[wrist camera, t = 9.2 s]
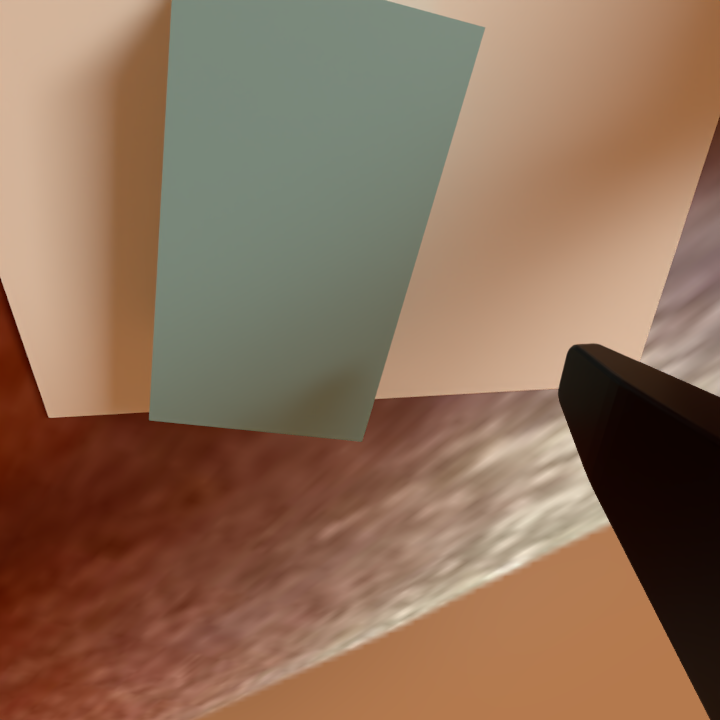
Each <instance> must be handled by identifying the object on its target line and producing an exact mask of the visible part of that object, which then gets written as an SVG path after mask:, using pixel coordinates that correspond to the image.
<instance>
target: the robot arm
mask: <svg viewBox="0 0 720 720" xmlns="http://www.w3.org/2000/svg"><path fill="white" fill-rule="evenodd" d="M558 396H559V402H560V405H561V408H562V410H563V413H564V416H565V418H566V421H567V424H568V426H569V429H570V432H571V435H572V437H573V440H574V443H575V445H576V448H577V451H578V453H579V456H580V459H581V462H582V464H583V467H584V469H585V472H586V474H587V477H588V479H589V482H590V484H591V486H592V488H593V490H594V492H595V494H596V496H597V498H598V500H599V502H600V504H601V506H602V508H603V510H604V512H605V514H606V516H607V518H608V520H609V522H610V524H611V526H612V528H613V529H614V531H615V533H616V535H617V537H618V539H619V541H620V543H621V545H622V547H623V549H624V551H625V553H626V555H627V557H628V559H629V561H630V563H631V565H632V567H633V569H634V571H635V573H636V575H637V576H638V579H639V581H640V583H641V584H642V586H643V588H644V590H645V592H646V594H647V596H648V598H649V600H650V602H651V604H652V606H653V608H654V610H655V612H656V614H657V616H658V618H659V620H660V622H661V624H662V626H663V628H664V630H665V632H666V633H667V636H668V637H669V640H670V642H671V643H672V645H673V647H674V649H675V651H676V653H677V655H678V657H679V659H680V661H681V663H682V665H683V667H684V669H685V671H686V673H687V675H688V677H689V679H690V681H691V683H692V685H693V687H694V689H695V691H696V693H697V695H698V696H699V699H700V701H701V702H702V704H703V706H704V708H705V710H706V712H707V714H708V716H709V718H710V720H720V397H718V396H716V395H714V394H711V393H709V392H707V391H705V390H702V389H700V388H698V387H696V386H693V385H691V384H689V383H686V382H684V381H682V380H680V379H677V378H675V377H673V376H671V375H668V374H666V373H664V372H661V371H659V370H657V369H655V368H652V367H650V366H648V365H646V364H643V363H641V362H639V361H637V360H634V359H632V358H630V357H627V356H625V355H623V354H621V353H618V352H616V351H614V350H612V349H609V348H607V347H605V346H602V345H600V344H596V343H590V344H575V345H573V346H571V347H570V348H569V350H568V352H567V355H566V359H565V363H564V367H563V371H562V375H561V379H560V384H559V389H558Z"/></svg>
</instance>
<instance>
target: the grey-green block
mask: <svg viewBox="0 0 720 720" xmlns="http://www.w3.org/2000/svg"><path fill="white" fill-rule="evenodd" d="M484 30H485V27H482V26H478V25H475V24H471V23H467V22H464V21H460V20H456V19H453V18H449V17H445V16H442V15H438V14H434V13H431V12H427V11H423V10H420V9H416V8H412V7H409V6H405V5H401V4H398V3H394V2H390V1H387V0H172V4H171V22H170V41H169V59H168V78H167V96H166V114H165V133H164V151H163V170H162V188H161V207H160V225H159V244H158V262H157V281H156V299H155V318H154V336H153V355H152V373H151V392H150V410H149V420H150V421H160V422H170V423H180V424H190V425H200V426H210V427H220V428H230V429H240V430H250V431H260V432H270V433H280V434H290V435H300V436H310V437H320V438H330V439H340V440H350V441H360V442H362V440H363V437H364V434H365V430H366V427H367V423H368V420H369V417H370V413H371V410H372V407H373V403H374V400H375V397H376V393H377V390H378V387H379V383H380V380H381V376H382V373H383V370H384V366H385V363H386V360H387V356H388V353H389V350H390V346H391V343H392V339H393V336H394V333H395V329H396V326H397V323H398V319H399V316H400V313H401V309H402V306H403V303H404V299H405V296H406V292H407V289H408V286H409V282H410V279H411V276H412V272H413V269H414V266H415V262H416V259H417V256H418V252H419V249H420V245H421V242H422V239H423V235H424V232H425V229H426V225H427V222H428V219H429V215H430V212H431V208H432V205H433V202H434V198H435V195H436V192H437V188H438V185H439V182H440V178H441V175H442V172H443V168H444V165H445V161H446V158H447V155H448V151H449V148H450V145H451V141H452V138H453V135H454V131H455V128H456V125H457V121H458V118H459V114H460V111H461V108H462V104H463V101H464V98H465V94H466V91H467V88H468V84H469V81H470V77H471V74H472V71H473V67H474V64H475V61H476V57H477V54H478V51H479V47H480V44H481V41H482V37H483V34H484Z"/></svg>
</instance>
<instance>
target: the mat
mask: <svg viewBox="0 0 720 720" xmlns="http://www.w3.org/2000/svg"><path fill="white" fill-rule="evenodd" d="M387 1H390V2H394V3H398V4H401V5H405V6H409V7H412V8H416V9H420V10H423V11H427V12H431V13H434V14H438V15H442V16H445V17H449V18H453V19H456V20H460V21H464V22H467V23H471V24H475V25H478V26H482V27H485V30H484V34H483V37H482V41H481V44H480V47H479V51H478V54H477V57H476V61H475V64H474V67H473V71H472V74H471V77H470V81H469V84H468V88H467V91H466V94H465V98H464V101H463V104H462V108H461V111H460V114H459V118H458V121H457V125H456V128H455V131H454V135H453V138H452V141H451V145H450V148H449V151H448V155H447V158H446V161H445V165H444V168H443V172H442V175H441V178H440V182H439V185H438V188H437V192H436V195H435V198H434V202H433V205H432V208H431V212H430V215H429V219H428V222H427V225H426V229H425V232H424V235H423V239H422V242H421V245H420V249H419V252H418V256H417V259H416V262H415V266H414V269H413V272H412V276H411V279H410V282H409V286H408V289H407V292H406V296H405V299H404V303H403V306H402V309H401V313H400V316H399V319H398V323H397V326H396V329H395V333H394V336H393V339H392V343H391V346H390V350H389V353H388V356H387V360H386V363H385V366H384V370H383V373H382V376H381V380H380V383H379V387H378V390H377V393H376V397H375V399H384V398H401V397H418V396H436V395H453V394H470V393H488V392H505V391H522V390H539V389H557V388H559V384H560V379H561V375H562V371H563V367H564V363H565V359H566V355H567V352H568V350H569V348H570V347H571V346H573V345H575V344H590V343H596V344H600V345H602V346H605V347H607V348H609V349H612V350H614V351H616V352H618V353H621V354H623V355H625V356H627V357H630V358H632V359H634V360H637V361H640V358H641V355H642V352H643V349H644V346H645V343H646V340H647V337H648V333H649V330H650V327H651V324H652V321H653V318H654V315H655V312H656V309H657V306H658V303H659V300H660V297H661V294H662V291H663V288H664V285H665V282H666V278H667V275H668V272H669V269H670V266H671V263H672V260H673V257H674V254H675V251H676V248H677V245H678V242H679V239H680V236H681V233H682V230H683V227H684V224H685V220H686V217H687V214H688V211H689V208H690V205H691V202H692V199H693V196H694V193H695V190H696V187H697V184H698V181H699V178H700V175H701V172H702V169H703V165H704V162H705V159H706V156H707V153H708V150H709V147H710V144H711V141H712V138H713V135H714V132H715V129H716V126H717V123H718V120H719V117H720V0H387ZM171 4H172V0H0V278H1V281H2V284H3V287H4V289H5V292H6V295H7V298H8V301H9V304H10V307H11V310H12V313H13V316H14V318H15V321H16V324H17V327H18V330H19V333H20V336H21V339H22V342H23V345H24V347H25V350H26V353H27V356H28V359H29V362H30V365H31V368H32V371H33V374H34V376H35V379H36V382H37V385H38V388H39V391H40V394H41V397H42V400H43V403H44V405H45V408H46V411H47V414H48V417H49V418H55V417H72V416H90V415H107V414H124V413H142V412H149V410H150V392H151V373H152V355H153V336H154V318H155V299H156V281H157V262H158V244H159V225H160V207H161V188H162V170H163V151H164V133H165V114H166V96H167V78H168V59H169V41H170V22H171Z"/></svg>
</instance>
